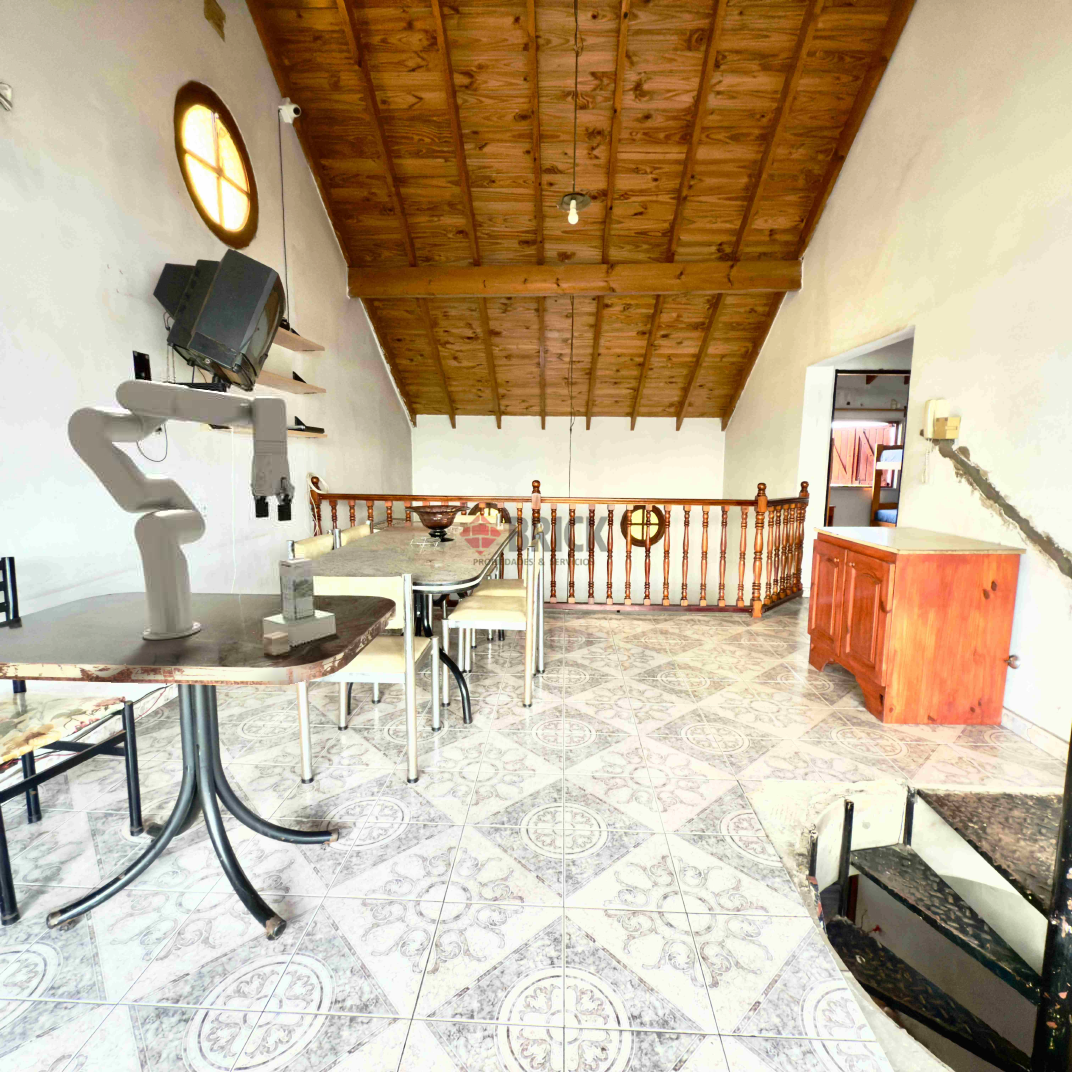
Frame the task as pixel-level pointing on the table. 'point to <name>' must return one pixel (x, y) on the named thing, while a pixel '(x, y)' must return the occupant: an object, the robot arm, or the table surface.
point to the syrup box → (297, 588)
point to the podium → (301, 626)
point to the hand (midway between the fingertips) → (273, 519)
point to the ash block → (276, 643)
